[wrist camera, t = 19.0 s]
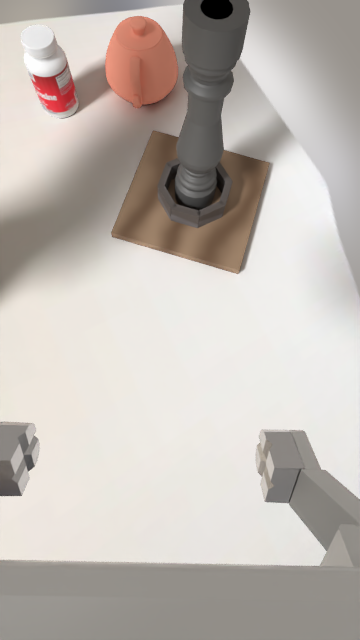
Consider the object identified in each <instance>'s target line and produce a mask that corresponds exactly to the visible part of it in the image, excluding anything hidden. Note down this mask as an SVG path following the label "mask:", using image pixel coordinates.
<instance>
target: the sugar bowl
mask: <svg viewBox="0 0 360 640" xmlns="http://www.w3.org/2000/svg"><path fill="white" fill-rule="evenodd" d="M105 70H106V78H107V81H108V83H109V85H110V87H111V88H112V90H113V91H114V92H115V93H116V94H117V95H119V96H120V97H122V98H123V99H125V100H127V101H129V102H131V103H133V107H135V108H140V107H141V106H142V105H144V104H152V103H155V102H158V101H160V100H161V99H163V98H164V97H165V96H167V95H168V94H169V93H170V92H171V90H172V89H173V88H174V86H175V84H176V81H177V78H178V66H177V59H176V55H175V52H174V49H173V47H172V45H171V43H170V41H169V39H168V37H167V35H166V34H165V32H164V30H163V29H162V28H161V26H160V25H159V24H158V23H157V22H156V21H154V20H152V19H150V18H147V17H142V16H135V17H130V18H127V19H125V20H123V21H122V22H121V23H120V24H119V25H118V26H117V28H116V29H115V31H114V33H113V36H112V38H111V40H110V43H109V46H108V49H107V53H106V62H105Z"/></svg>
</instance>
